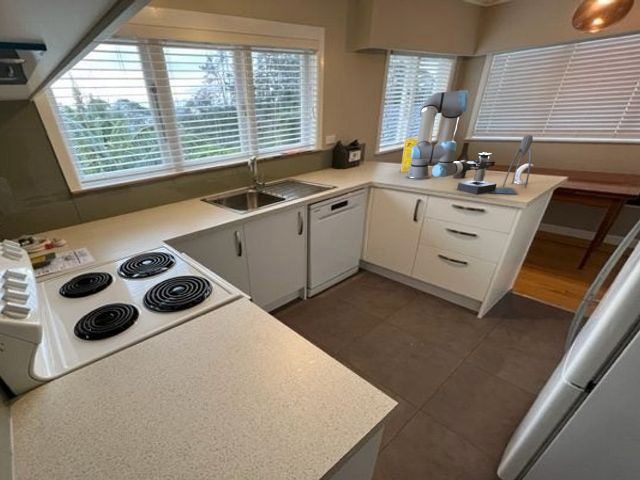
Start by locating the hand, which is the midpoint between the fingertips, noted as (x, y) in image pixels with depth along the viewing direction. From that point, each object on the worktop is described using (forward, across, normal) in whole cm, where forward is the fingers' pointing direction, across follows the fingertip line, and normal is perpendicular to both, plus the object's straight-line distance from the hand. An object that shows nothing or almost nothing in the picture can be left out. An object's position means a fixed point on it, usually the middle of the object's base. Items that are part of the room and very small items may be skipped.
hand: (489, 162), depth 179 cm
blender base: (-5, 0, -16) cm, 17 cm away
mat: (+4, +9, -16) cm, 19 cm away
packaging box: (+10, -72, -17) cm, 75 cm away
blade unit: (-5, 0, -10) cm, 11 cm away
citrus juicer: (+19, +3, -16) cm, 25 cm away
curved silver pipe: (+29, +1, -16) cm, 33 cm away
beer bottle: (+15, -32, -16) cm, 39 cm away
